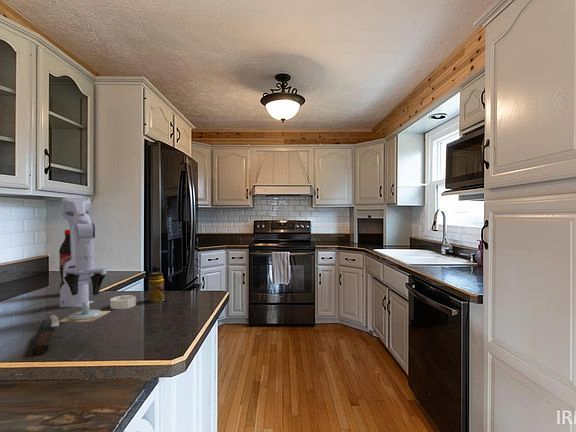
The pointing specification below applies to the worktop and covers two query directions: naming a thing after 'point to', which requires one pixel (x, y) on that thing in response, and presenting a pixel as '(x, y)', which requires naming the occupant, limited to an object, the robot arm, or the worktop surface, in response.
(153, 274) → the condiment
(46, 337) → the kitchen knife
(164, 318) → the worktop surface
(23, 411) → the worktop surface
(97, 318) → the mat
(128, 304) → the bowl
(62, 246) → the cola bottle
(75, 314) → the lid
